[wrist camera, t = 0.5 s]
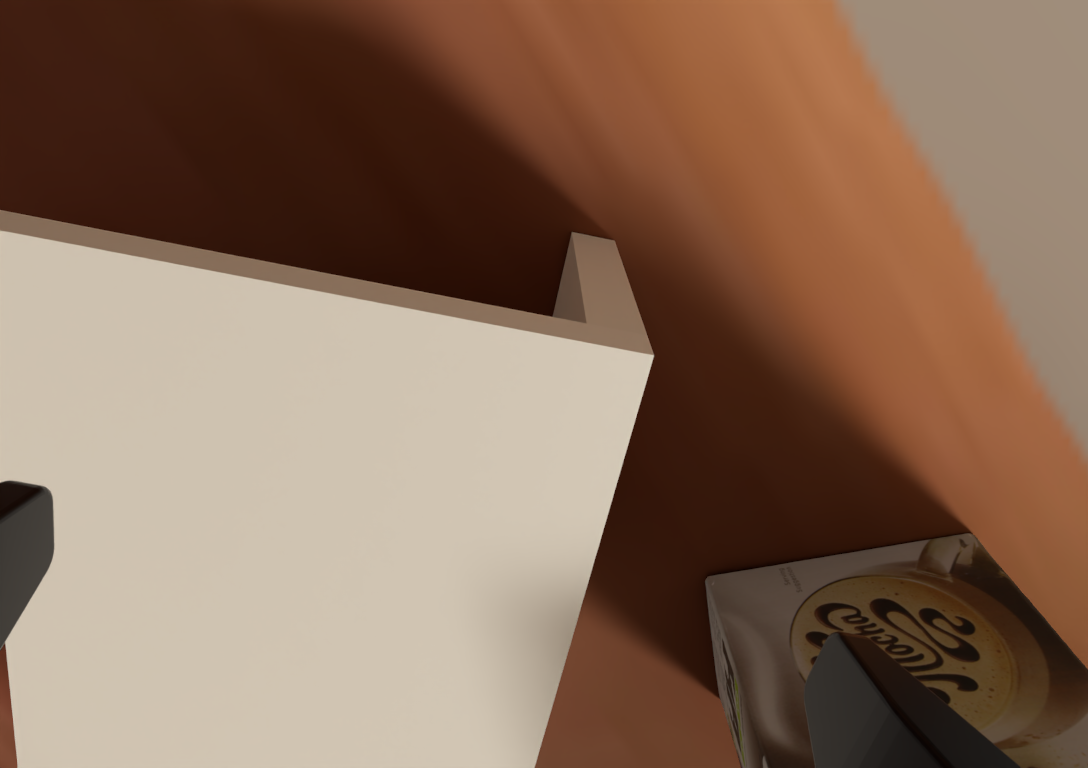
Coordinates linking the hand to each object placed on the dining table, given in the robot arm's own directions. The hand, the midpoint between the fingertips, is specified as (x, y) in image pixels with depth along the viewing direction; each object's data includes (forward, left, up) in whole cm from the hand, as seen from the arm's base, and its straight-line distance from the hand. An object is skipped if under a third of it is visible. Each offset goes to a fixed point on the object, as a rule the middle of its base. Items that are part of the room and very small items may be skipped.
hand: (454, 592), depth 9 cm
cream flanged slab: (-8, +3, -14) cm, 17 cm away
